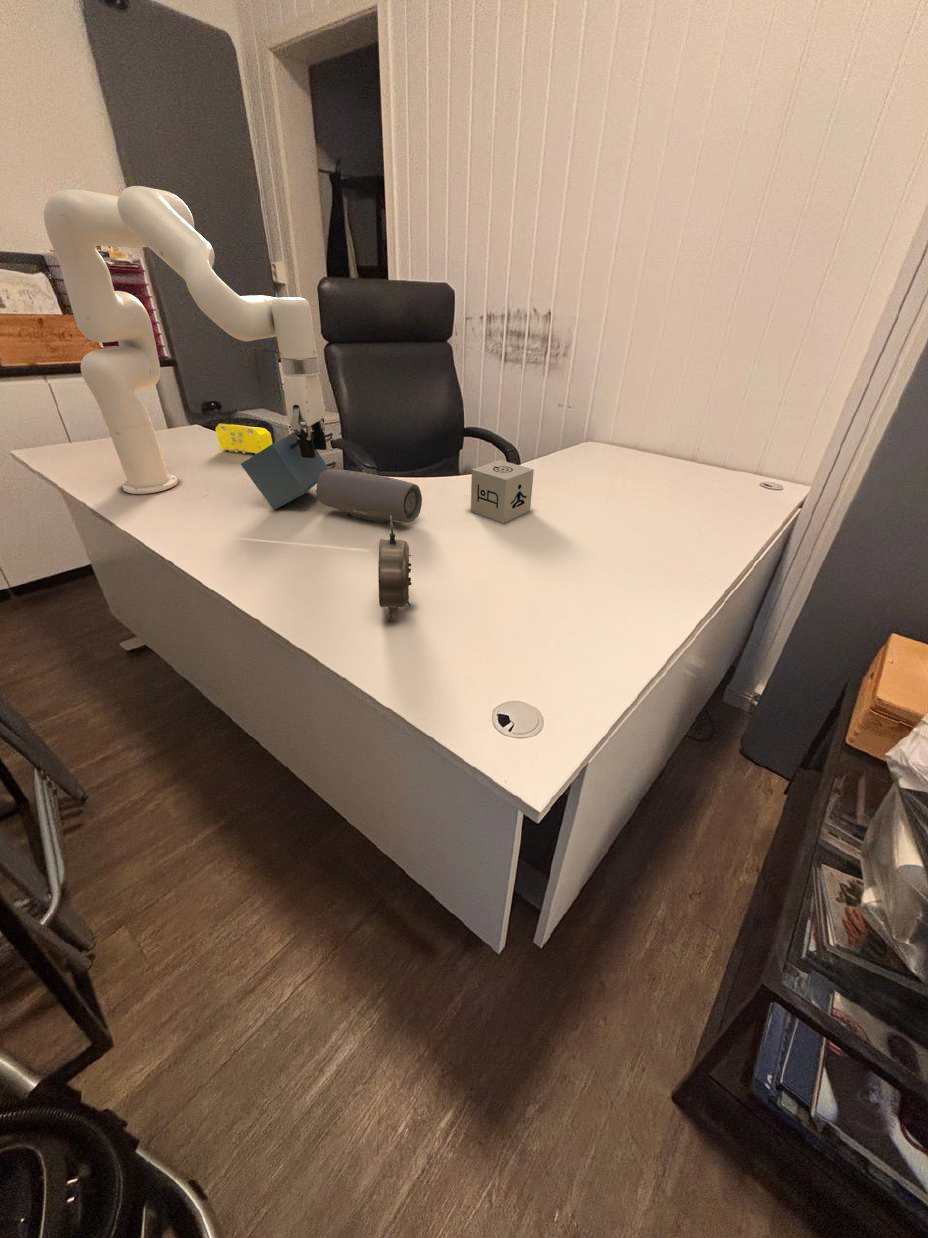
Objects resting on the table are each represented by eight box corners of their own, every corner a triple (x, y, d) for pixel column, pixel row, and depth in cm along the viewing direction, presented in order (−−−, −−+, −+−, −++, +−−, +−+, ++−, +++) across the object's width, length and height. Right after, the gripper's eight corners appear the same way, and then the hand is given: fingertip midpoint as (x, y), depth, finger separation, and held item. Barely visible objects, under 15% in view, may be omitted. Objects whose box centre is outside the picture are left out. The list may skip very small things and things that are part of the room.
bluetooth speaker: (424, 518, 116) (422, 475, 110) (403, 534, 109) (400, 489, 103) (342, 502, 124) (337, 461, 118) (318, 515, 117) (311, 472, 111)
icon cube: (470, 511, 120) (471, 469, 114) (497, 500, 126) (499, 459, 120) (503, 523, 114) (506, 479, 109) (530, 510, 121) (533, 469, 115)
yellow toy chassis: (219, 451, 157) (212, 423, 152) (232, 446, 161) (225, 419, 157) (263, 457, 153) (257, 428, 148) (274, 451, 157) (269, 423, 153)
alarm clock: (383, 590, 90) (375, 503, 80) (413, 589, 90) (409, 502, 81) (379, 626, 81) (370, 532, 71) (414, 625, 81) (409, 531, 72)
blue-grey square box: (240, 464, 114) (286, 434, 108) (272, 445, 126) (316, 418, 120) (273, 510, 119) (320, 484, 113) (301, 488, 131) (344, 464, 125)
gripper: (301, 360, 114) (314, 442, 124) (264, 372, 100) (282, 463, 110) (333, 361, 113) (343, 444, 123) (299, 373, 99) (314, 465, 109)
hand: (314, 452), depth 117 cm, fingers closed on blue-grey square box, 5 cm apart
